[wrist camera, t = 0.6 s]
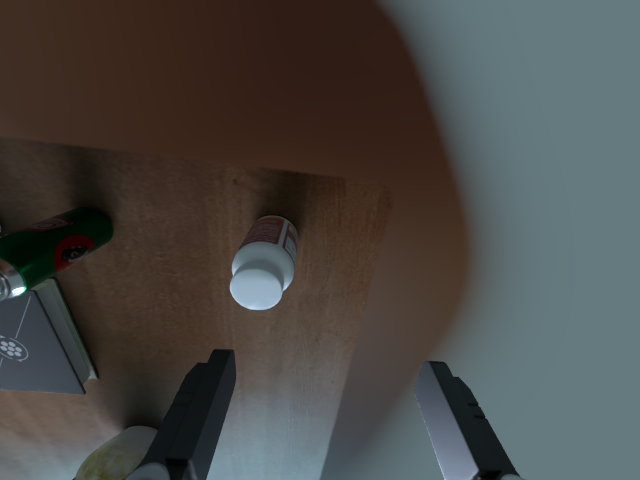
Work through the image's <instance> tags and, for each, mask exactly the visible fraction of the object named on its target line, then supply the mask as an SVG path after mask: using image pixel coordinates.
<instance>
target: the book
mask: <svg viewBox="0 0 640 480" xmlns="http://www.w3.org/2000/svg"><path fill="white" fill-rule="evenodd" d="M98 378H99V377H98V375H97V373H96V370H95V368H94V366H93V363H92V361H91V359H90V356H89V354H88V352H87V350H86V347H85V345H84V343H83V340H82V338H81V336H80V334H79V331H78V329H77V327H76V324H75V322H74V320H73V317H72V315H71V313H70V311H69V308H68V306H67V304H66V301H65V299H64V297H63V295H62V292H61V290H60V288H59V285H58V283H57V281H56V278H51V277H50V278H48V279H47V280H45V281H43V282H42V283H40V284H38V285H37V286H35V287H33V288H32V289H30V290H28V291H27V292H25V293H24V294H22V295H20V296H18V297H13V298H6V299H5V300H2V301H0V389H1V390H17V391H34V392H50V393H67V394H86V391H85V389H84V387H83V384H84V383H85V381H86V380H87V379H98Z"/></svg>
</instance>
